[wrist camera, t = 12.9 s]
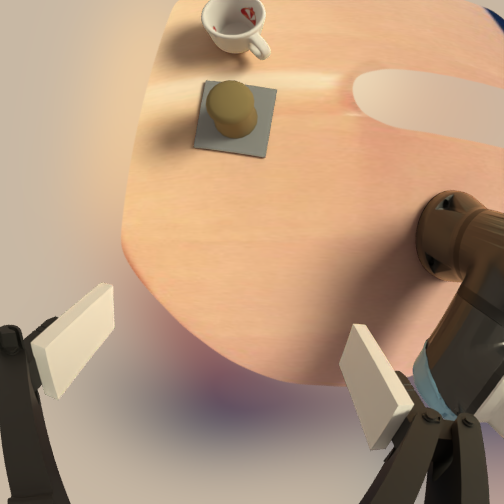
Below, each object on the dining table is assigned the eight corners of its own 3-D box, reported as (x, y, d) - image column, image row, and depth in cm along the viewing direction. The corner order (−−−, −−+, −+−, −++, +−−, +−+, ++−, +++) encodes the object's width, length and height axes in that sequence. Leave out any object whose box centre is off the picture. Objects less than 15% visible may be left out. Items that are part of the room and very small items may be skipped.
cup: (288, 53, 36) (294, 31, 28) (244, 83, 37) (242, 64, 30) (241, 8, 34) (238, -18, 26) (199, 36, 35) (188, 12, 28)
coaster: (276, 90, 38) (277, 89, 37) (265, 157, 40) (265, 157, 40) (206, 81, 37) (206, 80, 37) (194, 147, 40) (193, 147, 39)
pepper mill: (212, 99, 37) (198, 76, 27) (256, 95, 37) (256, 71, 27) (214, 140, 39) (200, 130, 28) (259, 137, 39) (260, 125, 28)
